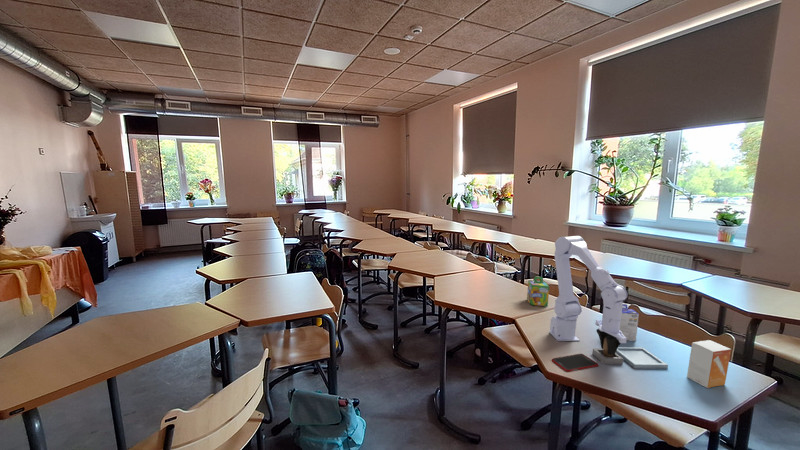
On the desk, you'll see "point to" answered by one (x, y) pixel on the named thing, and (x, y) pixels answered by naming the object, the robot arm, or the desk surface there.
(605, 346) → the pin
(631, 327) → the ink cartridge box
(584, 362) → the cell phone
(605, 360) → the square frame
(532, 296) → the chalk box
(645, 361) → the tray
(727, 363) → the small box
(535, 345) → the desk surface
